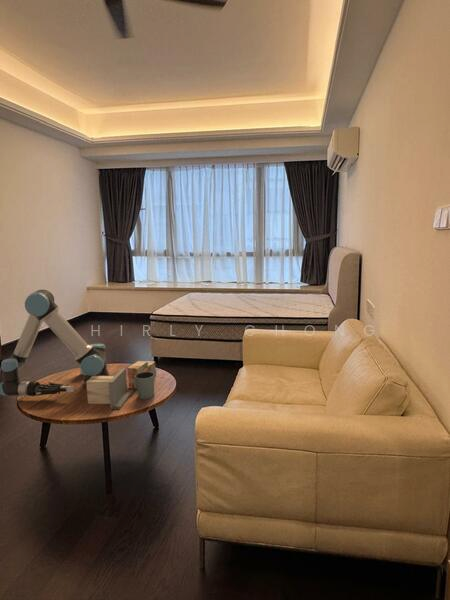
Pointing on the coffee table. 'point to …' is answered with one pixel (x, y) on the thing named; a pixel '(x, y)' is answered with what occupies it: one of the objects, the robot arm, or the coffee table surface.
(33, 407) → the coffee table surface
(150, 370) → the stack of blocks
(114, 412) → the coffee table surface
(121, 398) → the stop board
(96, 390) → the ash block
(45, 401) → the coffee table surface
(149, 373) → the green cup
